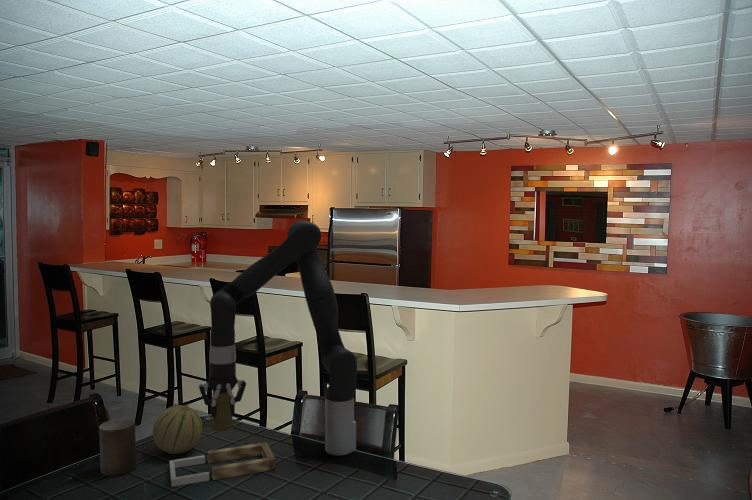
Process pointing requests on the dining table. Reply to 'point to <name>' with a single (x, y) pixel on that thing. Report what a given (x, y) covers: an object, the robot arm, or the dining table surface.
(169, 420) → the cantaloupe
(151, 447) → the dining table surface
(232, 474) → the oak channel
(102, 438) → the pillar candle
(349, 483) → the dining table surface
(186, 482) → the grey u-shaped staple
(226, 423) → the olive gourd
